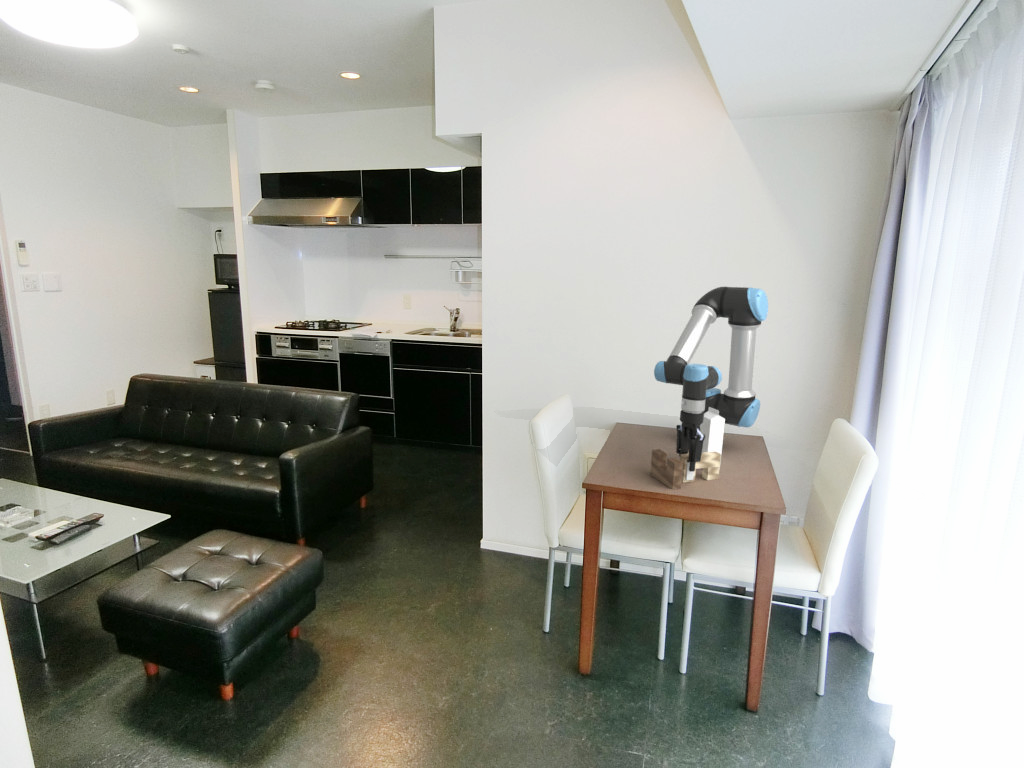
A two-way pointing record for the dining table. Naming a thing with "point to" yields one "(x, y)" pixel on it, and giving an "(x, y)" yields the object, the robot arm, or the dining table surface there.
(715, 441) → the milk
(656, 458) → the slotted base
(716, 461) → the cross plate
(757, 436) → the dining table surface
